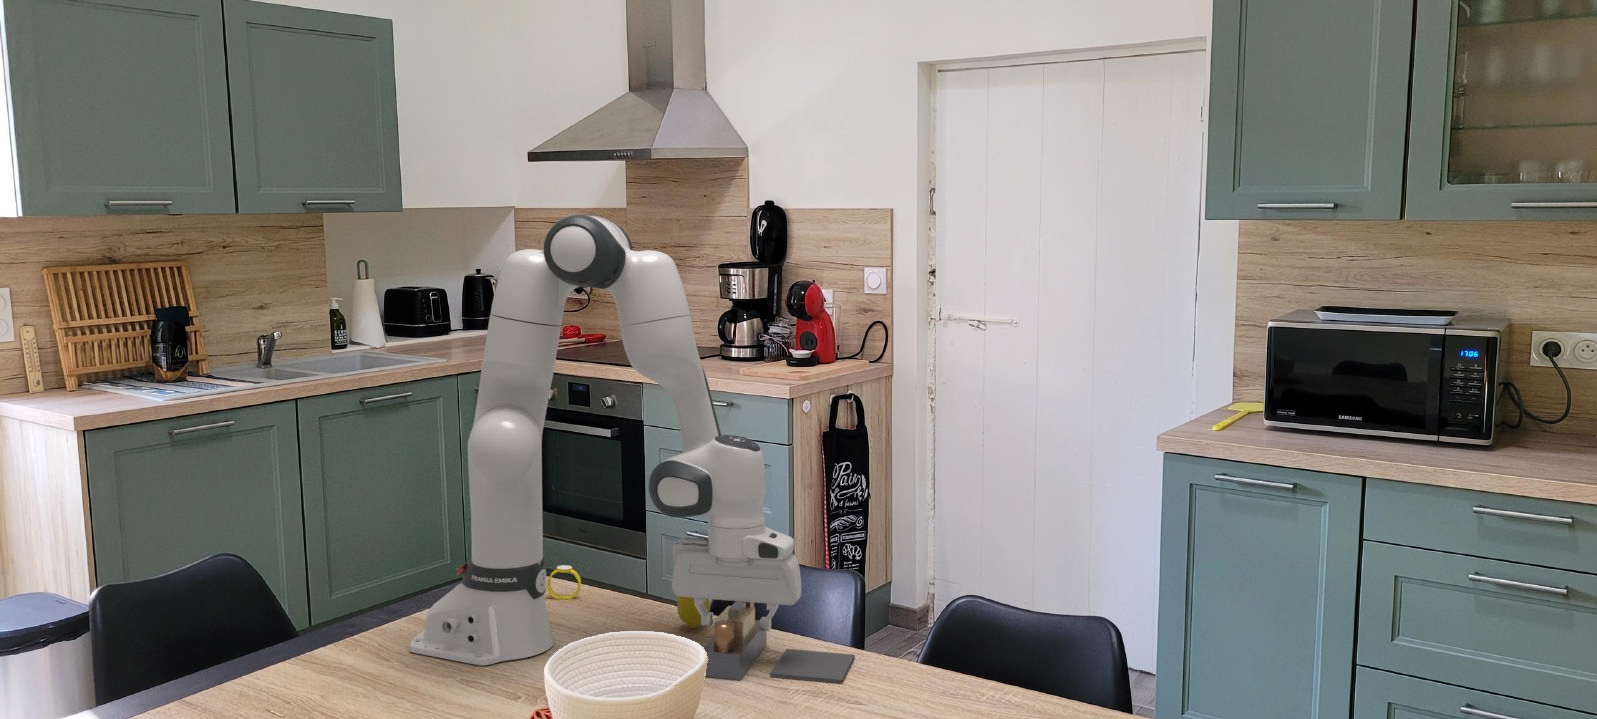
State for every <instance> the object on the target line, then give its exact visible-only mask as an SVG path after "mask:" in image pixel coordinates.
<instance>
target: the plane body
mask: <svg viewBox="0 0 1597 719" xmlns="http://www.w3.org/2000/svg"><path fill="white" fill-rule="evenodd" d="M739 602H741V601H739ZM746 607H749V608H755V603H753V602H746ZM767 632H768V631H761V630H760V619H755V630H754V631H753V632H752V634H751V635H750V636H749V637H748V639H747V640H746V641H745V642H744V644H737V643H734V623H733V622H732V621H727V620H721V621H716V620H715V622H713V638H712V639H711V640H710V641H709V642H708V643H707V644H706V646H704V648H703V649H705V651H706V652H707V656H708V659H709V660H708V663H707V669H706V677H705V678H710V679H711V678H712V679H719V680H720V679H722V680H729V681H730V680H731V681H732V680H733V681H741V680H742V678H743V677H744V676H745V674H746V673H747V671H748V670H749V669H750V668H751V666H752V665H753V664H754V662H755V661H756V660H757V658H759V656H760V654H761V653H762V651H763V650H764V649H765V647H766V646H767V637H768V636H767Z"/></svg>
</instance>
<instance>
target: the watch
mask: <svg viewBox="0 0 1597 719" xmlns="http://www.w3.org/2000/svg"><path fill="white" fill-rule="evenodd" d="M557 573H561V574H565V573H570V574H571V575H573V576H574V577H575V579H576V580H577V589H576V592H574V593H573V594H572V595H558V594H557V593H556V592H554V591H553V589H552V586H551V580H552V577H553V576H554V575H555V574H557ZM581 587H582V578H581V576H580V574H578V572H577V571H576V570H574V569H573V566H571V565H568V564H567V565H566V564H565V565H564V564H562V565H557V566H556V569H555V570H553V571H552V572H551V573H550V575H549V577H548V579H547V580H546V588H547V592H548V594H549V595H550V596H551V597H552V598H553V599H555V600H573V599H574V598H576V596H577V595H578V594H579V592H580V590H581Z"/></svg>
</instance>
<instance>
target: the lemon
mask: <svg viewBox="0 0 1597 719" xmlns="http://www.w3.org/2000/svg"><path fill="white" fill-rule="evenodd" d="M710 601H711V599H706V601H705V602H704V604H705V606H706V608H707V610H708V612H710V611H711V602H710ZM676 605H677V607H676V608H677V614H678V617H679V619H680V620H681V621H682V623H684V624H686V625H688V626H690V628H692V629H696V628H697V627H698V626H699V625H701V615H700V614H699V612H698V610H697V608H696V607H695V605H694V598H690V597H678V596H677V604H676Z"/></svg>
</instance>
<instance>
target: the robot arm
mask: <svg viewBox="0 0 1597 719" xmlns="http://www.w3.org/2000/svg"><path fill="white" fill-rule="evenodd" d="M587 288H592V289H600V290H601V289H602V290H605V291H608V292H609V294H610V295H611V297H613V300H614V303H615V307H616V310H617V316H618V322H619V327H620V334H621V340H622V344H623V348H624V351H625V354H626V357H627V358H628V361H629V363H630V366H631V367H632V368H633V369H634V371H636V372H637V373H639V374H640V375H641V376H643V377H645V378H646V379H649V380H652V381H653V382H655V383H656V384H658V385H659V386H660V387H662V388H663V389H664V390H665V391H666V393H667V394H668V396H669V397H670V398H671V400H672V403H673V406H674V410H675V415H676V419H677V423H678V427H679V429H680V434H681V437H682V442H683V447H682V448H683V450H682V453H679V454H677V455H674V456H671V457H669V458H667V459H664V460H663V461H662V462H660V463H658V465H656V466H655V467H654V468H653V469H652V471H651V473H650V475H649V478H648V479H649V480H648V491H649V492H648V494H649V497H650V499H651V501H652V503H653V506H654V507H655V508H656V509H657V510H658V511H659V512H660V513H662V514H663V515H665V516H666V517H670V518H677V519H678V518H681V519H682V518H688V517H689V518H690V517H696V516H703V515H704V516H705V517H706V518H707V538H703V537H697V538H696V537H695V538H694V537H693V538H692V537H688V536H684V537H681V539H678V540H675V542H674V543H673V545H672V560H673V562H674V565H673V571H672V572H673V573H672V581H671V590H672V593H673V594H674V595H675V596H676V597H677V598H678V597H690V598H694V605H695V607H696V608H697V610H698V612H699V614H700V615H701V624H700V625H701V626H705V627H711V626H712V625H714V618H713V617H714V612H710V611H709V612H708V610H707V608H706V606H705V604H704V602H705V601H706V599H710V600H719V601H730V602H731V601H732V602H736V601H741V602H753V603H754V604H757V603H758V604H766V611H769V612H768V613H767V615H766V616H762V617H761V618H760V619H759V620H760V630H761V631H767V632H770V631H771V629H772V618H773V617H774V615H775V613H776V612H777V610H778V608H779V605H780V606H781V605H783V606H794V605H795V603H797V602H798V601H799V599H800V597H801V596H802V577H801V568H800V564H799V563H800V562H799V560H798V558H797V556H796V555H795V554H794V553H793V551H794V548H795V540H794V538H793V537H792V536H789V535H787V534H785V533H782V532H780V531H777V530H774V529H772V528H770V527H767V526H766V518H765V515H764V510H763V506H764V499H765V497H766V475H765V474H766V471H765V462H764V456H763V451H762V449H761V447H760V446H759V445H758V443H756V442H755V441H753V440H752V439H750V438H748V437H744V436H740V435H736V434H734V435H732V434H722V433H721V432H722V431H721V428H720V424H719V421H718V417H717V413H716V409H715V405H714V401H713V398H712V394H711V393H712V392H711V389H710V385H709V383H708V382H709V381H708V379H707V375H706V372H705V369H704V367H703V366H704V365H703V363H702V361H701V358H700V355H699V351H698V347H697V342H696V339H695V338H696V337H695V334H694V330H693V328H694V327H693V324H692V317H691V312H690V307H689V302H688V299H687V295H686V291H685V288H684V284H683V282H682V279H681V276H680V273H679V270H678V267H677V265H676V262H675V261H674V260H673V258H671V256H669V255H668V254H666V253H665V252H661V251H658V250H652V249H651V250H649V249H647V250H646V249H645V250H633V246H632V241H631V239H630V237H629V235H628V234H627V232H626V231H625V230H624V229H623V228H622V227H621V226H620V225H618V224H617V223H615V222H613V221H610V220H609V219H607V218H604V217H601V216H599V215H585V214H573V215H569V216H566V217H564V218H562V219H560V220H558V221H557V222H555V223H554V224H553V225H552V227H551V228H550V229H549V230H548V232H547V234H546V236H545V238H544V242H543V249H536V248H527V249H521V250H517V251H514V252H513V253H511V254H510V255H508V257H507V258H506V260H505V262H504V264H503V267H502V269H501V272H500V274H499V277H498V281H497V282H496V288H495V290H494V294H493V299H492V304H491V310H490V314H489V320H488V326H487V332H486V339H485V345H484V351H483V357H482V363H481V370H480V378H479V386H478V392H477V401H476V406H475V414H474V419H473V424H472V428H471V432H470V433H469V436H468V440H467V462H468V463H467V465H468V466H467V468H468V483H469V484H468V487H469V502H470V505H469V506H470V518H471V519H470V522H471V523H470V524H471V525H470V526H471V527H470V528H471V529H470V530H471V532H470V533H471V534H470V535H471V558H470V559H469V560H468V561H466V562H463V563H462V565H461V566H459V567H458V568H456V571H457V572H456V576H460V575H461V574H462V579H461V582H460V583H459V584H458V585H456V586H455V587H454V588H453V589H451V590H450V591H449V592H447V593H446V594H445V595H443V597H441V598H440V599H439V600H437V601H436V602H434V603H433V605H432V606H431V607H430V609H429V611H428V612H427V615H426V619H425V623H424V630H423V631H421V632H420V633H418V634H417V635H415V637H413V638H412V639H411V641H410V643H409V652H410V653H413V654H419V655H424V656H428V657H429V656H430V657H434V658H439V659H445V660H449V661H455V662H460V663H465V664H469V665H470V664H471V665H476V666H489V665H493V664H497V663H501V662H506V661H513V660H520V659H525V658H528V657H534V656H537V655H539V654H541V653H544V652H546V651H548V650H549V649H550V648H552V647H553V646H554V644H555V639H554V636H553V634H552V631H551V626H550V621H549V618H548V616H549V615H548V610H547V604H546V603H547V602H546V595H545V593H546V591H547V590H546V588H547V567H546V566H547V565H546V563H547V562H546V557H545V556H544V553H543V552H544V550H543V549H544V548H543V546H544V544H543V542H544V538H543V537H544V536H543V535H544V533H543V532H544V530H543V523H544V522H543V460H542V459H543V456H542V455H543V454H542V453H543V452H542V451H543V448H542V445H543V444H542V442H543V432H544V426H545V420H546V415H547V409H548V403H549V398H550V393H551V387H552V382H553V378H554V371H555V365H556V359H557V353H558V348H559V342H560V334H561V330H562V325H563V324H562V323H563V317H564V310H565V306H566V302H567V300H568V298H569V295H570V293H571V292H572V291H574V290H575V289H577V290H579V289H587Z"/></svg>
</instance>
